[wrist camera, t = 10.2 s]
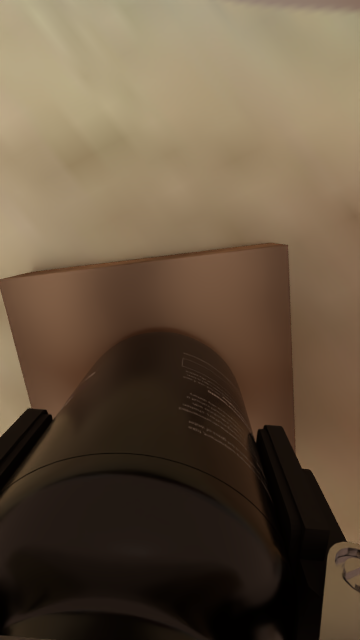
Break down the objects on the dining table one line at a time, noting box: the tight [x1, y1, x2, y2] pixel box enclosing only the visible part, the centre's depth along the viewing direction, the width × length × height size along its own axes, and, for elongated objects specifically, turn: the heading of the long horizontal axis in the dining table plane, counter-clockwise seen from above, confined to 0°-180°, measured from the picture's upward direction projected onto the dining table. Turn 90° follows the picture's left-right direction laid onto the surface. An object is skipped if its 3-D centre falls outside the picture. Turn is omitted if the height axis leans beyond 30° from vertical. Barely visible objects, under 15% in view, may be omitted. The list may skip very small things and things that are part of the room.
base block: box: [0, 243, 296, 455], centre depth 16 cm, size 12×12×3 cm
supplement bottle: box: [0, 332, 299, 640], centre depth 9 cm, size 7×7×12 cm
